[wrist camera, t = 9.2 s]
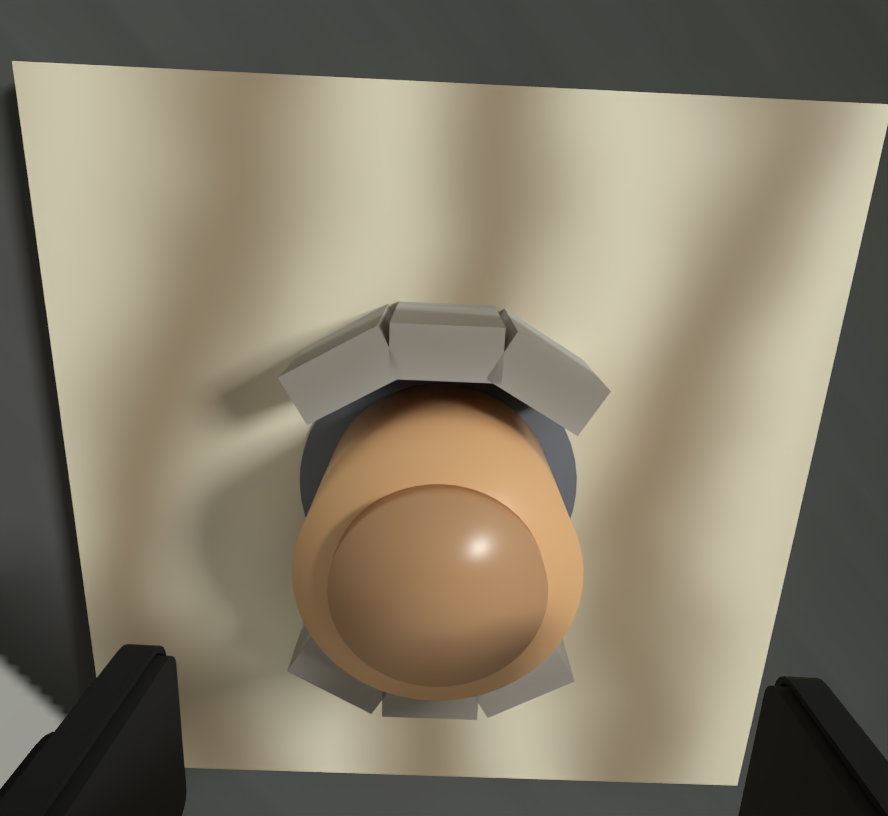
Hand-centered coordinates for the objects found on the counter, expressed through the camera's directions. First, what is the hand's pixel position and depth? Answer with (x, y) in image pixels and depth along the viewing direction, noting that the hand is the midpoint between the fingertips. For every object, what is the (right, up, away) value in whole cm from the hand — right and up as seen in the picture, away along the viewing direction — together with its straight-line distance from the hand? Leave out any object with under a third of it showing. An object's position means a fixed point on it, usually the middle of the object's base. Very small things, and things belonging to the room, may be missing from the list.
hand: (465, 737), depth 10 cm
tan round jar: (-1, +3, +7) cm, 8 cm away
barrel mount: (-1, +3, +9) cm, 9 cm away
